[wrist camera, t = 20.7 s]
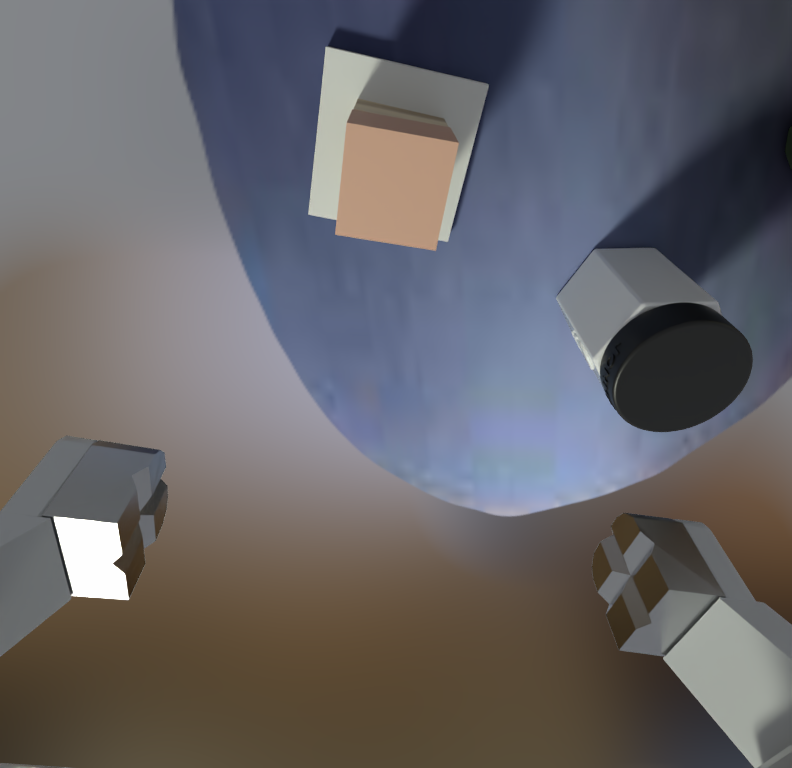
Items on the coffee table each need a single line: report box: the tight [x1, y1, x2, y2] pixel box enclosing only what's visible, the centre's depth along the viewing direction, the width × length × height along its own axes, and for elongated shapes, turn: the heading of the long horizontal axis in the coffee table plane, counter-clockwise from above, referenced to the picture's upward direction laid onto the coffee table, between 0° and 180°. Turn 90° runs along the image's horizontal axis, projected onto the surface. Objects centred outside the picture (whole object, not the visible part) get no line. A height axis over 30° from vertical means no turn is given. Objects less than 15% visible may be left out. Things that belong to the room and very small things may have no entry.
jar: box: [556, 248, 753, 432], centre depth 36 cm, size 9×8×12 cm
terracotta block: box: [335, 109, 459, 251], centre depth 29 cm, size 6×6×4 cm
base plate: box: [308, 46, 489, 242], centre depth 34 cm, size 10×10×1 cm
